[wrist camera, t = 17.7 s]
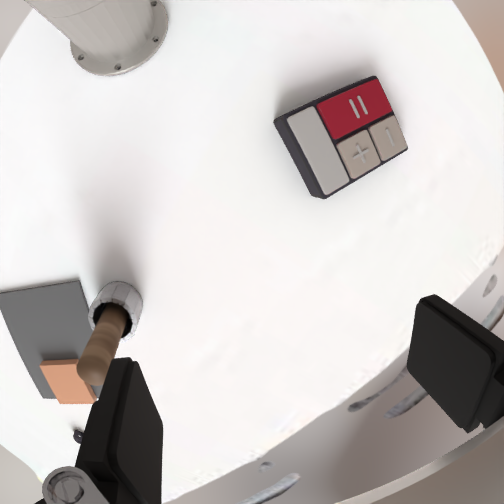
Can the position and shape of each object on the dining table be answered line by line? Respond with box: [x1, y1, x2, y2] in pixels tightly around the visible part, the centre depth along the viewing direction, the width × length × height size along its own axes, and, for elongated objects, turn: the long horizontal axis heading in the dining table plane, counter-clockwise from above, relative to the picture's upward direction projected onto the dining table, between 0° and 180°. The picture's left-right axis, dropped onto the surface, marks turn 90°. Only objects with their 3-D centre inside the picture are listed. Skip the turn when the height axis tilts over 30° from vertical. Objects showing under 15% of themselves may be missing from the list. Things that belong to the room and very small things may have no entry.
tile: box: [39, 359, 97, 404], centre depth 40 cm, size 2×7×8 cm
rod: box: [76, 302, 130, 386], centre depth 32 cm, size 3×3×14 cm
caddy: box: [88, 281, 143, 343], centre depth 37 cm, size 6×6×5 cm
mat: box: [0, 281, 103, 399], centre depth 39 cm, size 20×16×1 cm
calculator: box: [274, 76, 408, 199], centre depth 36 cm, size 11×4×15 cm
